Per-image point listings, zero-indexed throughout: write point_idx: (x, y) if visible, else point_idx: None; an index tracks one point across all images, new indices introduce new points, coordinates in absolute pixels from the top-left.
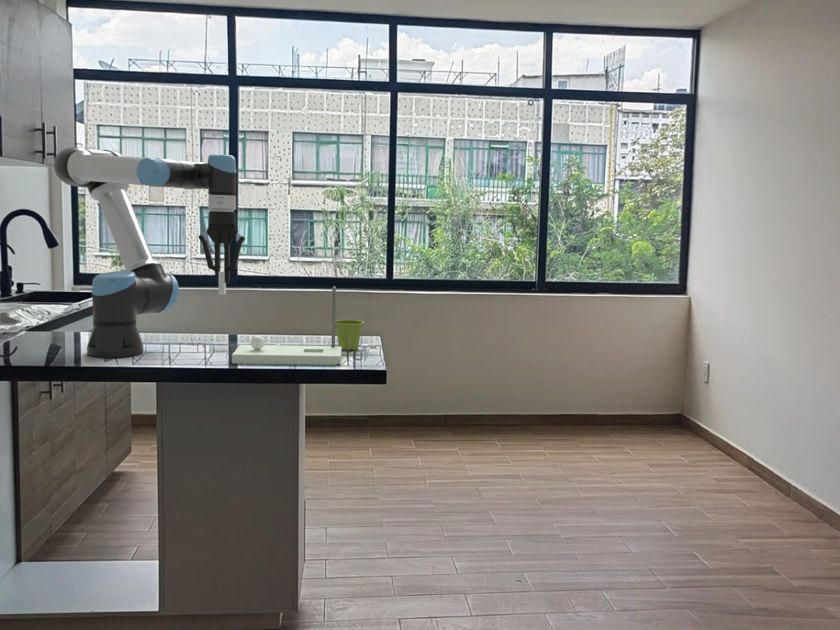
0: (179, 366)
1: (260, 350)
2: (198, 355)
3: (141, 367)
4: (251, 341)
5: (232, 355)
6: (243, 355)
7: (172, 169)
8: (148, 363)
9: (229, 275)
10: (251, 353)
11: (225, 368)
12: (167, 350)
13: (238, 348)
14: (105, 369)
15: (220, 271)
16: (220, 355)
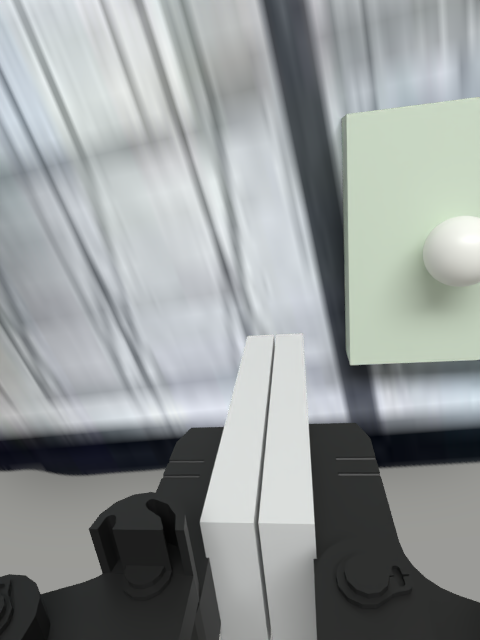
0: (189, 412)
1: None
2: (179, 214)
3: (92, 434)
4: (433, 274)
5: (351, 363)
6: (395, 361)
7: None
8: (81, 380)
9: (386, 512)
10: (427, 335)
11: None
12: (14, 121)
13: (353, 227)
14: (20, 463)
15: (225, 577)
16: (265, 197)
